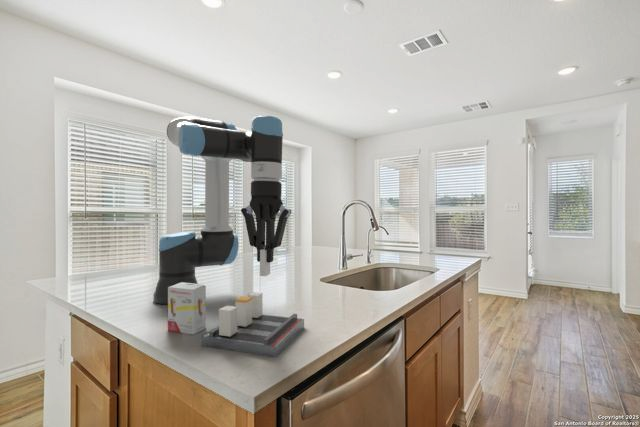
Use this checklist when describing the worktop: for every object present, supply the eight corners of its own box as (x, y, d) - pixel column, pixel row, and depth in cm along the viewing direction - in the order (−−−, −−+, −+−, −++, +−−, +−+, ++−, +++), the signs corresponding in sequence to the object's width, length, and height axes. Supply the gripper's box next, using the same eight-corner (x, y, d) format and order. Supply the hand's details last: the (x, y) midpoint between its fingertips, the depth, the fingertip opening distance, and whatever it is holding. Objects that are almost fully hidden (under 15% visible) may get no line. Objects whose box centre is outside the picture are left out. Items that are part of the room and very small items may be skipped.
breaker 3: (247, 316, 86) (247, 294, 86) (252, 313, 89) (252, 292, 89) (257, 318, 86) (257, 295, 85) (262, 314, 88) (262, 293, 88)
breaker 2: (235, 325, 80) (235, 299, 80) (241, 321, 83) (241, 296, 83) (246, 326, 79) (246, 300, 79) (251, 322, 82) (252, 297, 82)
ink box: (166, 331, 83) (166, 286, 83) (180, 324, 87) (180, 281, 87) (193, 335, 80) (193, 288, 80) (206, 328, 85) (206, 284, 85)
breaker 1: (219, 335, 74) (219, 309, 74) (226, 330, 77) (226, 305, 77) (230, 336, 73) (230, 310, 73) (237, 331, 76) (237, 306, 76)
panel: (201, 345, 74) (201, 330, 74) (242, 319, 91) (242, 307, 91) (276, 357, 69) (276, 341, 69) (304, 327, 86) (304, 314, 86)
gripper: (235, 179, 77) (234, 275, 78) (284, 179, 73) (282, 280, 74) (250, 181, 84) (249, 269, 85) (296, 181, 80) (294, 274, 81)
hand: (264, 274), depth 80 cm, fingers closed
